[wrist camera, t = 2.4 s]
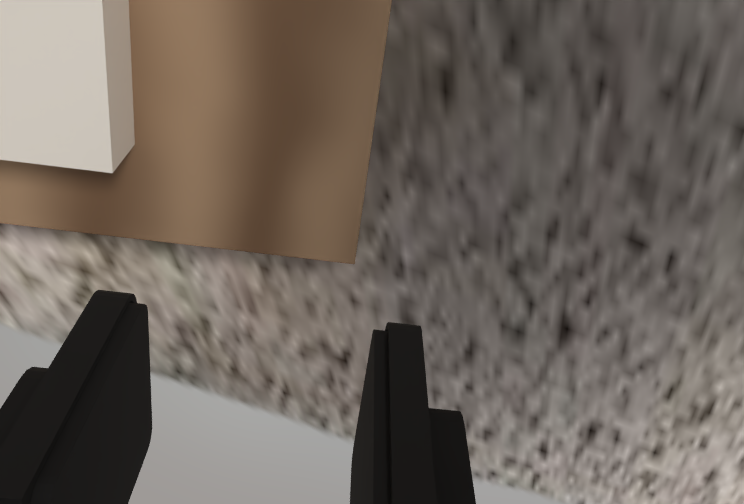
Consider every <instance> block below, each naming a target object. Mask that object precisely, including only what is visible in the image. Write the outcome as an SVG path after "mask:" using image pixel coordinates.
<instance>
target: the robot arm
mask: <svg viewBox="0 0 744 504" xmlns="http://www.w3.org/2000/svg"><path fill="white" fill-rule="evenodd" d="M151 410H152V409H151V383H150V356H149V329H148V309H147V305H145V304H138V303H137V301H136V297H135V295H134V294H130V293H121V292H113V291H104V290H98V291H96V292H95V293H94V294H93V296H92V297H91V299H90V301H89V302H88V304H87V306H86V307H85V309H84V311H83V312H82V314H81V315H80V317H79V319H78V320H77V322H76V324H75V325H74V327H73V329H72V330H71V332H70V334H69V335H68V337H67V338H66V340H65V342H64V343H63V345H62V347H61V348H60V350H59V352H58V353H57V355H56V357H55V358H54V360H53V361H52V363H51V365H50V366H49V368H38V367H31V368H30V369H28V370H26V372H25V373H24V374H23V376H22V377H21V378H20V379H19V381H18V383H17V384H16V386H15V387H14V389H13V390H12V392H11V393H10V395H9V396H8V398H7V399H6V401H5V403H4V404H3V406H2V407H1V409H0V504H128V502H129V499H130V496H131V494H132V491H133V488H134V486H135V483H136V480H137V477H138V475H139V472H140V469H141V467H142V464H143V461H144V459H145V456H146V453H147V450H148V447H149V444H150V439H151V433H152V411H151ZM350 504H476V502H475V495H474V487H473V481H472V474H471V467H470V460H469V453H468V446H467V439H466V432H465V425H464V420H463V416H462V414H461V412H460V411H451V410H442V409H432V408H428V396H427V385H426V373H425V362H424V351H423V339H422V329H421V326H417V325H408V324H400V323H391V322H388V323H387V325H386V329H385V331H382V330H373V334H372V339H371V345H370V351H369V357H368V363H367V369H366V375H365V381H364V387H363V393H362V399H361V405H360V411H359V417H358V423H357V429H356V435H355V441H354V447H353V456H352V468H351V492H350Z"/></svg>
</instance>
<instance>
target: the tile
mask: <svg viewBox="0 0 744 504" xmlns="http://www.w3.org/2000/svg"><path fill="white" fill-rule="evenodd" d="M134 145H135V137H134V113H133V90H132V67H131V43H130V20H129V0H0V160H7V161H16V162H24V163H32V164H40V165H49V166H57V167H65V168H73V169H82V170H90V171H98V172H106V173H113V172H114V171H115V170H116V168H117V167H118V166H119V164H120V163H121V162H122V160H123V159H124V158H125V157H126V155H127V154H128V153H129V151H130V150H131V149H132V147H133V146H134Z"/></svg>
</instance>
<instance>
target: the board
mask: <svg viewBox="0 0 744 504" xmlns="http://www.w3.org/2000/svg"><path fill="white" fill-rule="evenodd" d="M391 3H392V0H129V20H130V43H131V67H132V90H133V113H134V137H135V145H134V146H133V147H132V149H131V150H130V151H129V153H128V154H127V155H126V157H125V158H124V159H123V160H122V162H121V163H120V164H119V166H118V167H117V168H116V170H115V171H114V172H113V173H106V172H98V171H90V170H82V169H73V168H65V167H57V166H49V165H40V164H32V163H24V162H16V161H7V160H0V223H5V224H13V225H22V226H31V227H39V228H48V229H56V230H65V231H74V232H82V233H91V234H99V235H108V236H117V237H125V238H134V239H142V240H151V241H160V242H168V243H177V244H185V245H194V246H203V247H211V248H220V249H228V250H237V251H246V252H254V253H263V254H271V255H280V256H289V257H297V258H306V259H315V260H323V261H332V262H340V263H349V264H355V257H356V250H357V243H358V236H359V229H360V222H361V215H362V208H363V201H364V194H365V187H366V180H367V173H368V165H369V158H370V151H371V144H372V137H373V130H374V123H375V116H376V109H377V102H378V95H379V88H380V81H381V74H382V67H383V60H384V52H385V45H386V38H387V31H388V24H389V17H390V10H391Z"/></svg>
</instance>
